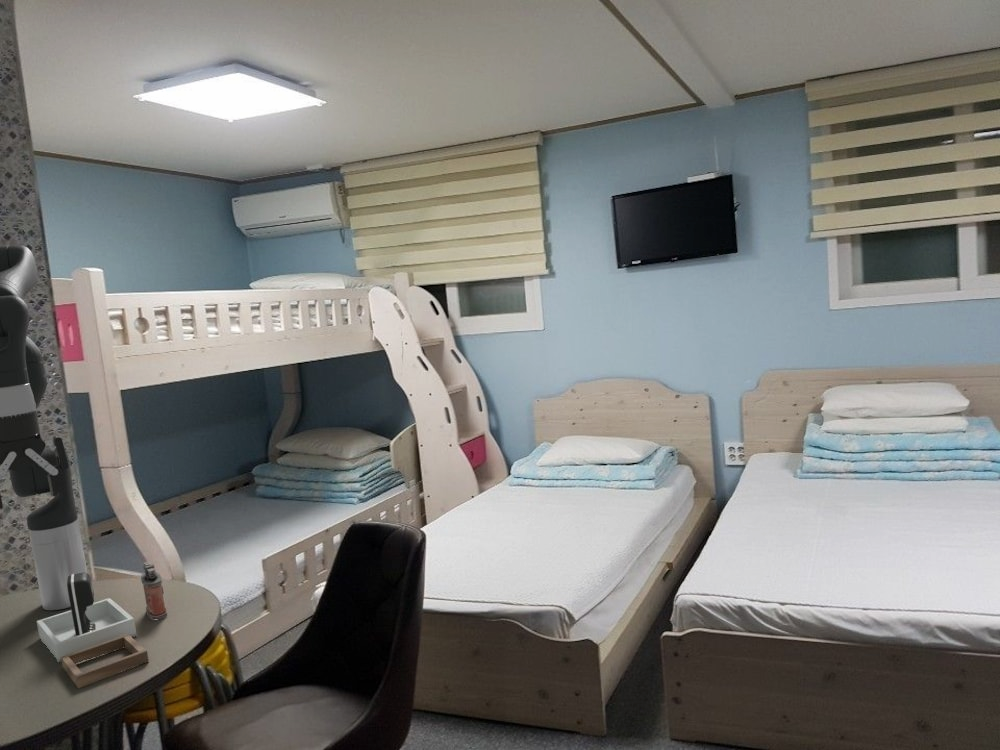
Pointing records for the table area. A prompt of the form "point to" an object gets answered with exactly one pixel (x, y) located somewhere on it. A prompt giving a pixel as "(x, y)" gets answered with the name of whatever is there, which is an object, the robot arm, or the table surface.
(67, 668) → the brown flat square frame
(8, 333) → the robot arm
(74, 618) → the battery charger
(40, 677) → the table surface
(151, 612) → the lighter
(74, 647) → the bin
